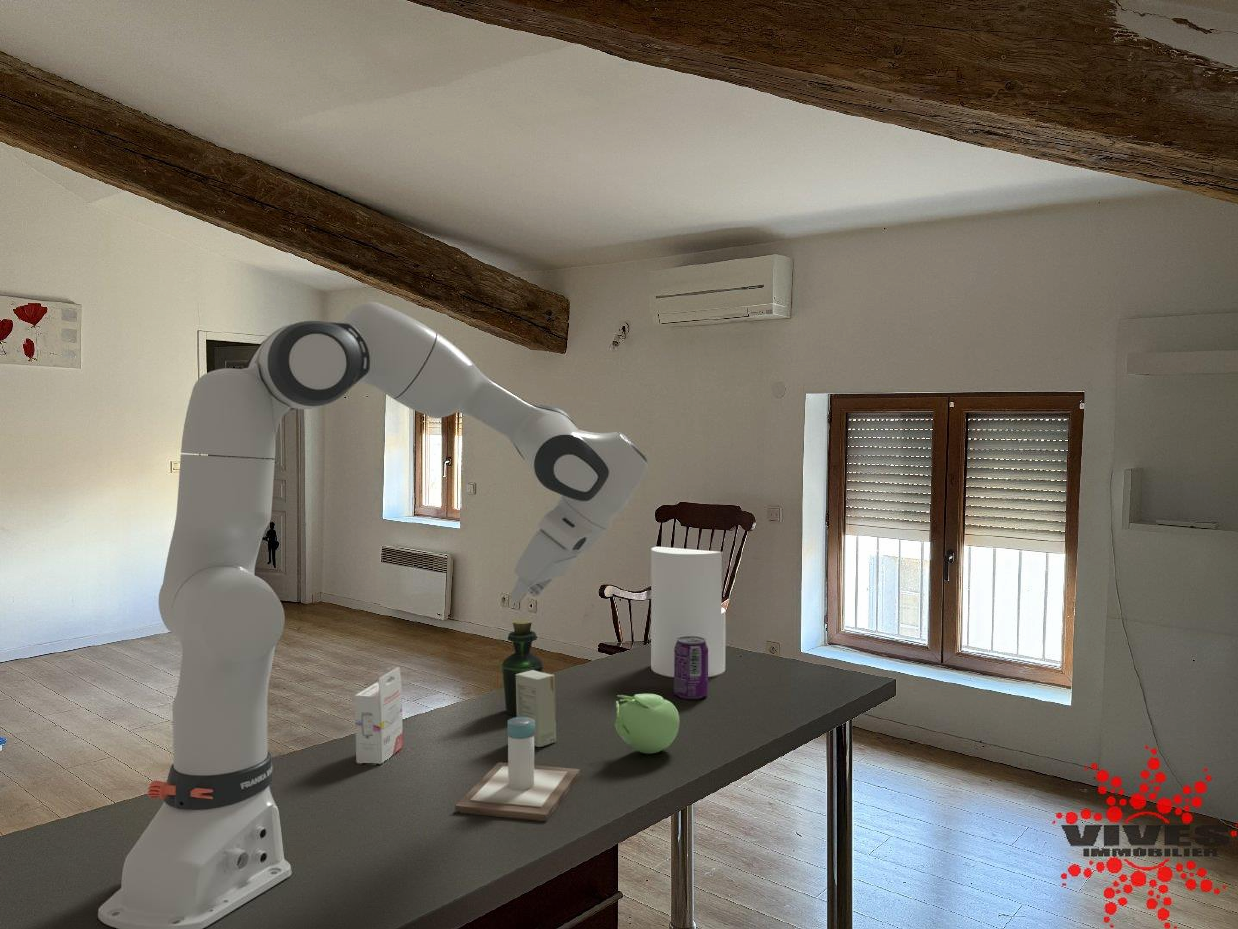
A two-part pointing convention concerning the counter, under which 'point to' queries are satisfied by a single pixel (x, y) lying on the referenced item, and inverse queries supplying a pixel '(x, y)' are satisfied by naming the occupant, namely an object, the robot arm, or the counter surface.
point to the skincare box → (537, 704)
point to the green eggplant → (647, 722)
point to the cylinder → (686, 605)
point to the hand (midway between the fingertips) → (523, 597)
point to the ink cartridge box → (379, 719)
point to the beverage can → (691, 667)
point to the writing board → (519, 794)
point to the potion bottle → (519, 661)
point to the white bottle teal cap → (521, 753)
